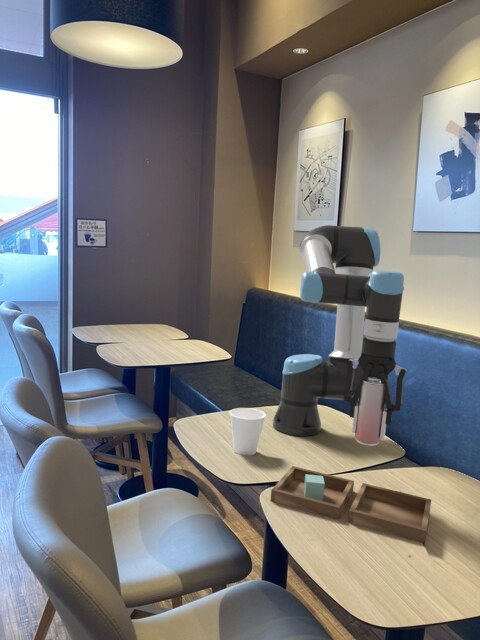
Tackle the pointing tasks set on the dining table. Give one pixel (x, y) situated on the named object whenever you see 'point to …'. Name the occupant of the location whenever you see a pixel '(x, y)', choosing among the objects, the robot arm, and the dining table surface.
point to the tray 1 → (293, 495)
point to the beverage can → (370, 412)
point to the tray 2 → (391, 512)
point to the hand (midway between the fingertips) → (368, 433)
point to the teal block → (314, 487)
